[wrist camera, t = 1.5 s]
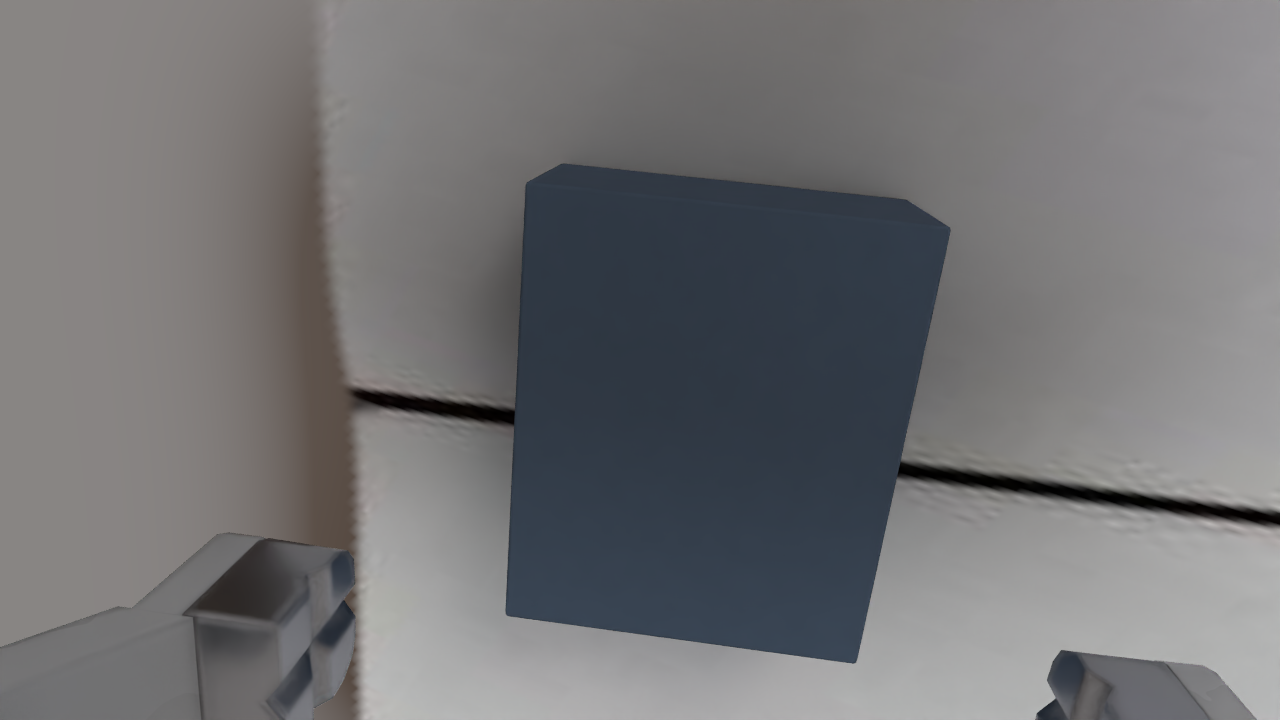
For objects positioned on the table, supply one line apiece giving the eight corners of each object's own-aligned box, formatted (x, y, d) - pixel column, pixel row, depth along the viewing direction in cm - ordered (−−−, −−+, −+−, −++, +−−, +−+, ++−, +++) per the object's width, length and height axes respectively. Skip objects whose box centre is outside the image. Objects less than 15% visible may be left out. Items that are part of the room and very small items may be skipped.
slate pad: (560, 162, 16) (524, 181, 13) (909, 199, 15) (952, 227, 12) (538, 533, 18) (504, 617, 15) (835, 572, 18) (857, 665, 15)
